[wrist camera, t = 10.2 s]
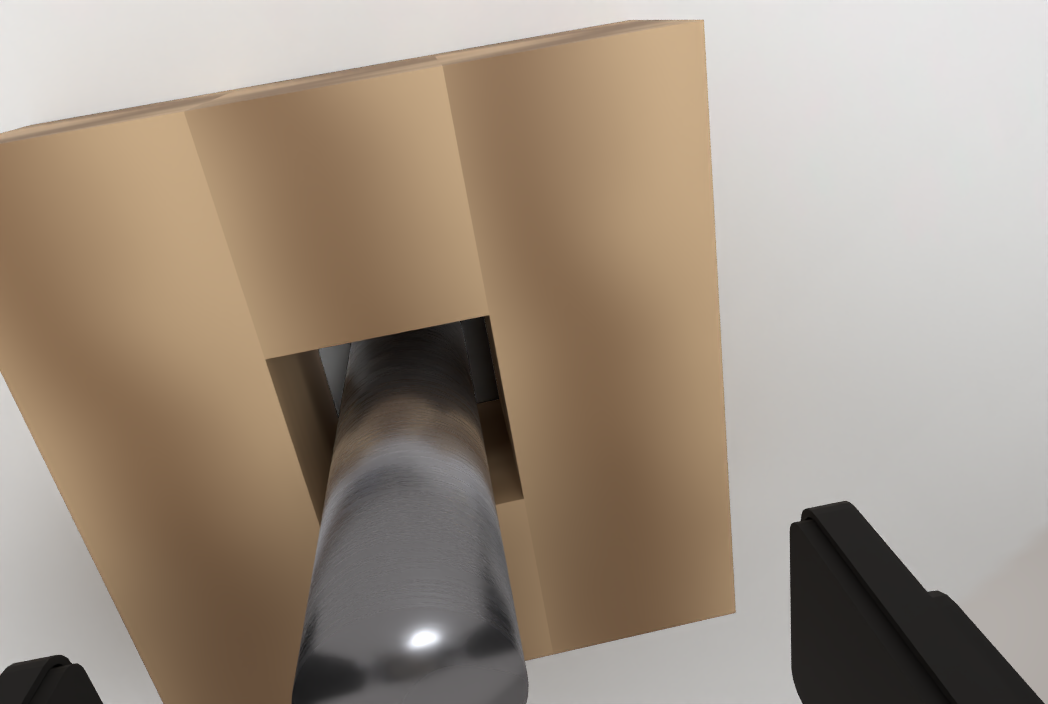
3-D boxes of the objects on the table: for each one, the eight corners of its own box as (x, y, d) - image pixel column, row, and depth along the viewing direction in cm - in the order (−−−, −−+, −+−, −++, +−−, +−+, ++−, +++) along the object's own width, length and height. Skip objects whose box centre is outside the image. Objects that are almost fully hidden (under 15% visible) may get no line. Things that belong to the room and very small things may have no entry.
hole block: (629, 20, 18) (703, 19, 14) (673, 500, 24) (735, 612, 19) (31, 124, 17) (-103, 161, 13) (225, 598, 23) (180, 739, 19)
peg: (452, 280, 20) (508, 583, 9) (473, 381, 21) (543, 753, 11) (339, 303, 20) (261, 639, 9) (367, 402, 21) (326, 805, 10)
